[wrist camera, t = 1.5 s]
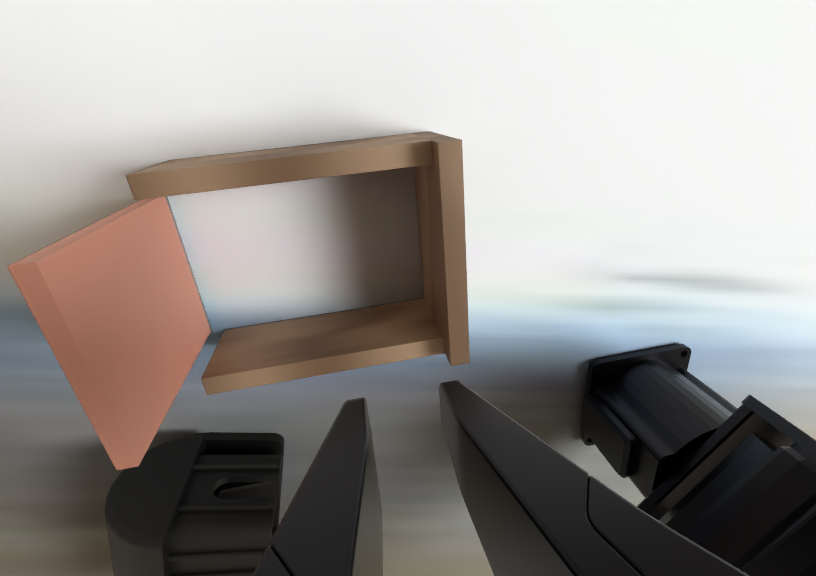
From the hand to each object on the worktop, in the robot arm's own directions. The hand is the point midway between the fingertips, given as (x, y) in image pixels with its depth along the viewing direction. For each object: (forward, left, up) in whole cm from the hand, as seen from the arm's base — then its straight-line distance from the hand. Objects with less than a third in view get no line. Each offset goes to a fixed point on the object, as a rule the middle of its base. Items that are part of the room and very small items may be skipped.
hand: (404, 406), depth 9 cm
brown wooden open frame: (+2, 0, -12) cm, 12 cm away
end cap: (+11, +14, -12) cm, 21 cm away
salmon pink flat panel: (+8, 0, -12) cm, 14 cm away
